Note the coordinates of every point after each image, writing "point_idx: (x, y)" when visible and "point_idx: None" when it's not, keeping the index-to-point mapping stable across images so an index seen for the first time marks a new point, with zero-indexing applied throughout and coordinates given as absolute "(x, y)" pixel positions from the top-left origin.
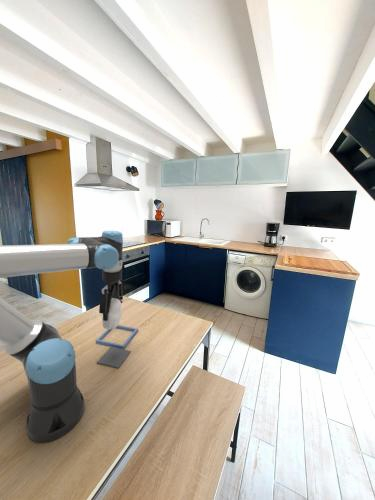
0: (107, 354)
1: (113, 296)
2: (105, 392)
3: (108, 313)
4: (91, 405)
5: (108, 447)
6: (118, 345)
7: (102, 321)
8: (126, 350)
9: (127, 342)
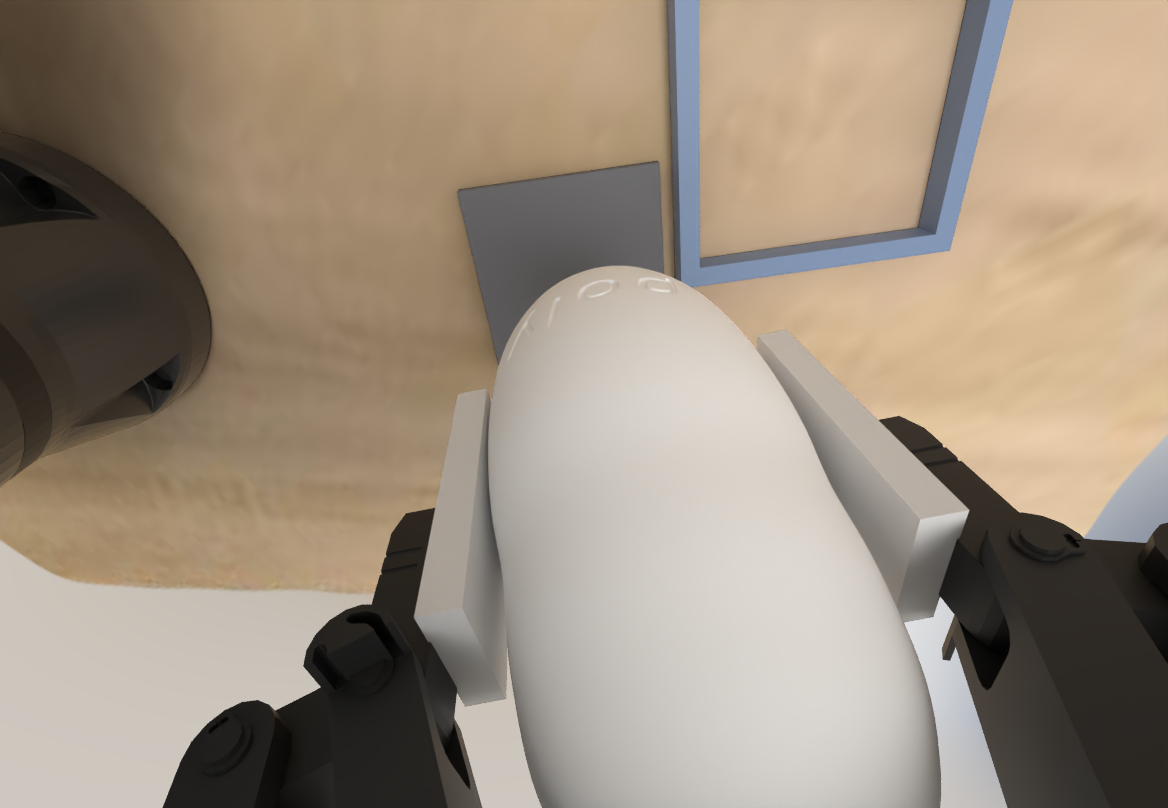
0: (565, 210)
1: (1097, 803)
2: (330, 408)
3: (459, 679)
4: (231, 399)
5: (187, 558)
6: (680, 238)
7: (506, 361)
8: None
9: (742, 278)
